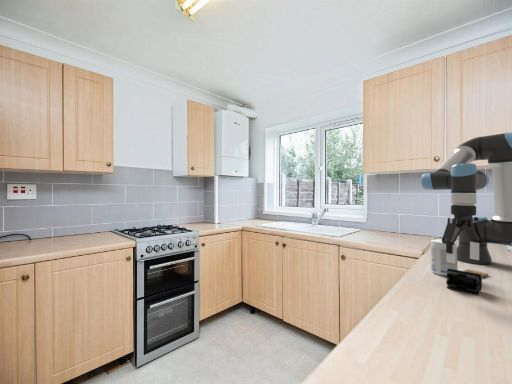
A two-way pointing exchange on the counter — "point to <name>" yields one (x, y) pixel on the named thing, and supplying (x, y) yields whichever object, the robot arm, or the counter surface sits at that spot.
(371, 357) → the counter surface
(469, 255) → the robot arm
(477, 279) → the end cap
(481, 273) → the oak coaster
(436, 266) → the supplement tub
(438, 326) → the counter surface
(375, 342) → the counter surface
